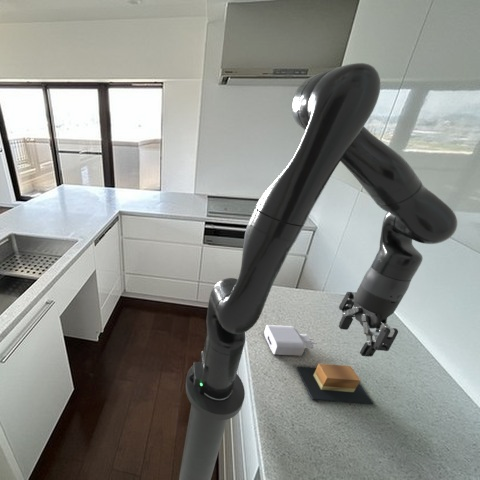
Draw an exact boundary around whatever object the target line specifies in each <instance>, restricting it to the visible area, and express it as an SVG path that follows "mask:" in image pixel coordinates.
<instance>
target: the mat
mask: <svg viewBox="0 0 480 480" xmlns="http://www.w3.org/2000/svg"><path fill="white" fill-rule="evenodd" d="M316 368H317V367H313V366H312V367H311V366H300V365H299V366H298V365H297V366H296V370H297V371H298V374H299V375H300V378H301V379H302V382H303V384H304V386H305V388H306V390H307V392H308V394H309V396H310V397H311V400H312V401H318V402H319V401H321V402H332V403H333V402H334V403H345V404H346V403H347V404H360V405H374V402H373V401H372V399H371V398H370V396H369V395H368V394H367V392H366V391H365V389H364V388H363V387H362V385H361V384H360V383H359V384H358V386H357V388H356V389H355V391H354V392H344V391H331V390H321V388H320V387H319V385H318V383H317V381H316V379H315V378H314V376H313V375H314V373H315V370H316Z"/></svg>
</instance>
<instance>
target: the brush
mask: <svg viewBox="0 0 480 480" xmlns="http://www.w3.org/2000/svg"><path fill="white" fill-rule="evenodd" d="M315 368H316V370H315V373H314V375H313V376H314V378H315V379H316V381H317V383H318V385H319V387H320V388H321V390H331V391H344V392H354V391H355V389H356V388H357V386H358V384H360V383H361V379H360V377H359V376H358V374H357V373H356V372H355V370H354V368H353V367H352V366H351V365H342V364H331V363H330V364H329V363H318V364H317V366H316V367H315Z"/></svg>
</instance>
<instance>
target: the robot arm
mask: <svg viewBox="0 0 480 480" xmlns="http://www.w3.org/2000/svg"><path fill="white" fill-rule="evenodd" d="M381 84H382V83H381V77H380V74H379V72H378V70H377V69H376V68H375V66H373V65H371V64H369V63H366V62H365V63H364V62H355V63H349V64H344V65H341V66H337V67H334V68H331V69H327V70H324V71H321V72H319V73H316V74H314V75H311V76H309V77H308V78H307V79H305V80H304V81H303V82H302V83H301V84H300V85H299V86H298V88H297V89H296V90H295V93H294V96H293V98H292V103H291V114H292V117H293V119H294V121H295V123H296V124H297V125H298V126H299V128H301V129H303V130H304V133H303V135H302V138H301V140H300V142H299V144H298V147H297V148H296V151H295V152H294V154H293V157H292V158H291V159H290V160H289V162H288V164H287V165H286V166H285V168H284V169H283V170H282V171H281V172H280V173H279V174H278V175H277V176H276V178H275V179H274V180H272V182H271V183H270V184H269V185H268V186H267V187H266V189H265V190H264V191H263V193H262V194H261V195H260V197H259V198H258V200H257V202H256V204H255V207H254V209H253V211H252V213H251V216H250V218H249V219H248V222H247V225H246V228H245V232H244V237H243V245H242V255H241V265H240V270H239V274H238V276H237V278H235V277H226V278H223V279H221V280H219V281H218V282H217V283H216V284H214V286H213V288H212V289H211V291H210V294H209V298H208V302H207V303H208V305H207V313H206V323H205V324H206V336H205V342H204V348H203V350H202V351H201V353H200V358H199V361H193V365H192V366H193V373H192V374H190V376H189V379H190V381H191V382H192V383H194V387H199V393H200V394H203V395H205V396H206V397H207V398H209V399H211V400H213V401H225V400H227V399H228V398H229V397H230V396H231V394H232V390H233V385H234V381H235V378H236V374H237V375H238V370H239V366H240V362H241V359H242V355H243V352H244V347H245V344H246V340H247V339H246V338H247V337H246V336H247V335H246V332H248V331H250V330H251V329H252V328H253V327H255V325H256V324H257V322H258V321H259V319H260V317H261V315H262V313H263V310H264V307H265V305H266V302H267V300H268V297H269V294H270V292H271V289H272V287H273V285H274V282H275V280H276V279H277V277H278V275H279V273H280V271H281V269H282V267H283V266H284V263H285V262H286V259H287V257H288V255H289V253H290V251H291V250H292V248H293V246H295V243H296V242H297V240H298V238H299V237H300V234H301V233H302V230H303V229H304V227H305V225H306V223H307V221H308V219H309V217H310V215H311V213H312V211H313V209H314V208H315V205H316V203H317V201H318V200H319V198H320V196H321V194H322V193H323V191H324V189H325V187H326V186H327V184H328V182H329V180H330V179H331V177H332V175H333V173H334V172H335V170H336V168H337V167H338V165H339V163H342V165H343V166H344V167H345V168H346V169H347V170H348V171H349V173H351V174H352V176H353V177H354V178H355V179H356V180H357V182H358V183H359V184H360V185H361V186H362V188H363V189H364V190H365V191H366V193H367V194H368V196H369V197H370V198H371V199H372V200H373V202H374V203H375V204H376V205H377V206H378V207H379V208H380V209H382V210H384V212H386V213H385V215H384V217H383V220H382V224H381V232H380V238H379V248H378V251H377V253H376V255H375V257H374V260H373V261H372V263H371V265H370V267H369V268H368V270H367V271H366V272H365V274H364V275H363V277H362V280H361V282H360V283H359V286H358V288H357V291H356V292H355V291H347V292H346V293H345V295H344V297H343V298H342V301H341V302H340V304H339V306H338V309H339V310H340V311H341V312H342V313H341V316H342V317H341V318H340V319H339V320H340V321H339V325H338V328H339V329H340V330H349V328H350V326H351V325H352V322H353V321H354V319H355V320H356V322H357V321H358V322H359V324H360V325H361V327H362V328H363V334H364V335H365V338H366V341H365V342H364V343H363V346H362V348H361V350H360V351H359V354H360V355H361V356H362V357H368V358H369V357H371V358H372V357H373V356H374V354H375V353H376V351H382V352H383V351H384V352H389V351H390V349H391V347H392V345H393V343H394V341H395V340H396V338H397V336H398V334H399V330H398V329H397V328H395V327H391V326H390V325H389V324H388V318H389V317H391V316H392V315H394V313H395V312H396V310H397V308H398V306H399V305H400V303H401V301H402V300H403V299H404V296H405V295H406V294H407V291H408V290H409V287H410V285H411V283H412V282H411V281H412V280H413V278H414V276H415V275H416V273H417V271H418V270H419V268H420V266H421V264H422V263H423V260H424V259H423V255H422V254H421V253H420V252H419V250H418V249H417V248H416V247H415V246H414V244H413V241H415V242H417V243H420V244H425V245H436V244H440V243H444V242H445V241H447V240H449V239H451V237H452V236H454V234H455V232H456V231H457V229H458V218H457V215H456V213H455V212H454V210H453V209H452V208H451V207H450V206H449V205H448V204H447V203H446V202H444V201H443V200H442V199H441V198H440V197H438V196H437V195H436V194H435V193H434V192H432V191H431V190H429V189H428V188H427V187H425V185H424V184H423V182H422V181H421V179H420V177H419V176H418V175H417V173H416V172H415V171H414V169H413V167H412V166H411V165H410V163H409V162H408V161H407V160H406V159H405V158H404V157H403V156H402V155H401V154H400V153H398V152H397V151H396V150H394V149H393V148H392V147H390V146H389V145H387V144H386V143H385V142H383V141H382V140H381V139H379V138H377V136H376V135H374V134H373V133H371V132H370V130H368V129H367V128H366V127H365V126H366V123H367V122H368V120H369V119H370V117H371V115H372V114H373V112H374V110H375V108H376V105H377V104H378V100H379V96H380V93H381V86H382V85H381ZM373 329H375V331H372V330H373ZM373 336H374V337H373ZM192 377H193V378H192Z"/></svg>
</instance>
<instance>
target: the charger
mask: <svg viewBox="0 0 480 480" xmlns="http://www.w3.org/2000/svg"><path fill="white" fill-rule="evenodd" d="M263 335H264V338H265V340H266V342H267V345H268V346H269V348H270V351H271V353H272V354H273V355H278V356H282V355H283V356H303V354H304V352H305V350H306V349H314V345H317V342H315V341H313V340H315V338H313V337H309V336H308V335H307V334H306V333H300V332H299V331H298V330H297V328H296V327H294V326H292V325H277V324H275V325H274V324H266V325H265V329H264V332H263Z"/></svg>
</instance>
